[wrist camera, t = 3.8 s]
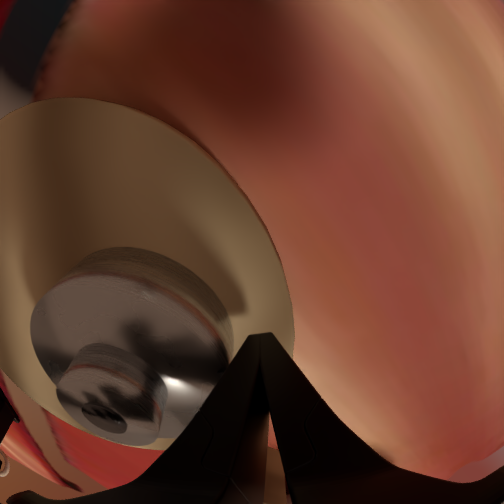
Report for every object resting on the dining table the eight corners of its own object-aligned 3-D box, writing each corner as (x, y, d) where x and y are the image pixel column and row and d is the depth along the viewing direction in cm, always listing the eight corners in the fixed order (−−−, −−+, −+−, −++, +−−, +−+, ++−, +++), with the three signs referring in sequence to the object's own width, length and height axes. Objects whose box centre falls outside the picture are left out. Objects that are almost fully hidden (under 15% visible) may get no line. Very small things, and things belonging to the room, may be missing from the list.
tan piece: (9, 383, 14) (-17, 425, 10) (-46, 120, 7) (-112, 136, 2) (271, 453, 16) (274, 516, 11) (390, 144, 8) (494, 166, 4)
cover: (79, 370, 11) (46, 434, 7) (53, 232, 8) (-24, 288, 4) (222, 404, 11) (216, 483, 8) (249, 266, 9) (249, 364, 5)
